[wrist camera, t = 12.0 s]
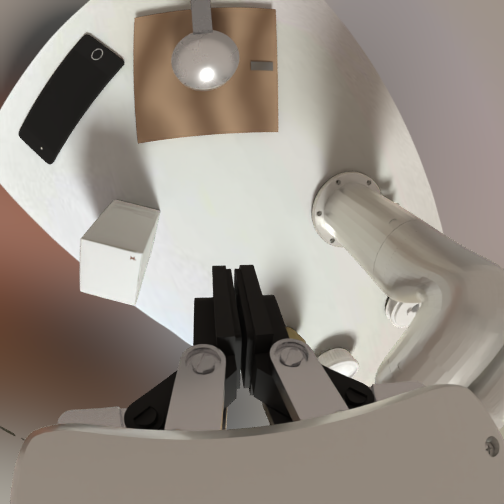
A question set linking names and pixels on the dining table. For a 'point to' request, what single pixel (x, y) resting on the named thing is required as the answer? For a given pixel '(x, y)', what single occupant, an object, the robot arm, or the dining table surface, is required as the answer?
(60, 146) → the cell phone
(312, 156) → the dining table surface
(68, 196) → the dining table surface
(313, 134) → the dining table surface
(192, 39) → the square-handled spoon
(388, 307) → the lid
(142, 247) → the supplement box
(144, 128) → the post base
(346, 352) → the ramekin
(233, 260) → the dining table surface
